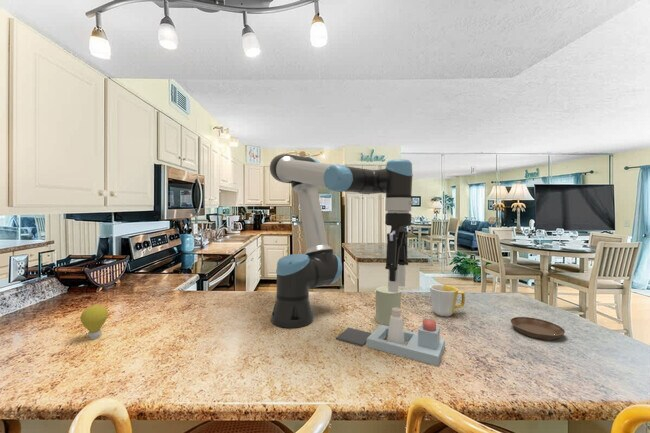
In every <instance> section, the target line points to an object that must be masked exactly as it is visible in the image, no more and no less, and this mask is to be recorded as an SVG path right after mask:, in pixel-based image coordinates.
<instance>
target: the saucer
mask: <svg viewBox="0 0 650 433" xmlns="http://www.w3.org/2000/svg"><path fill="white" fill-rule="evenodd" d="M510 323H511V325H512V326H513V327H514V328H515V330H517V331H518V332H519V333H520V334H522V335H525V336H527V337H530V338H534V339H538V338H539V340H545V339H547V341H552V339H553V340H556V339H559V338H560V337H562V336H564V335H565V333H566V330H565V329H564V328H563V327H561V326H560V325H558V324H556V323H554V322H550V321H548V320H544V319H542V318H535V317H527V316H526V317H525V316H515V317H512V318H511V319H510ZM554 334H555V335H554Z"/></svg>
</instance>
